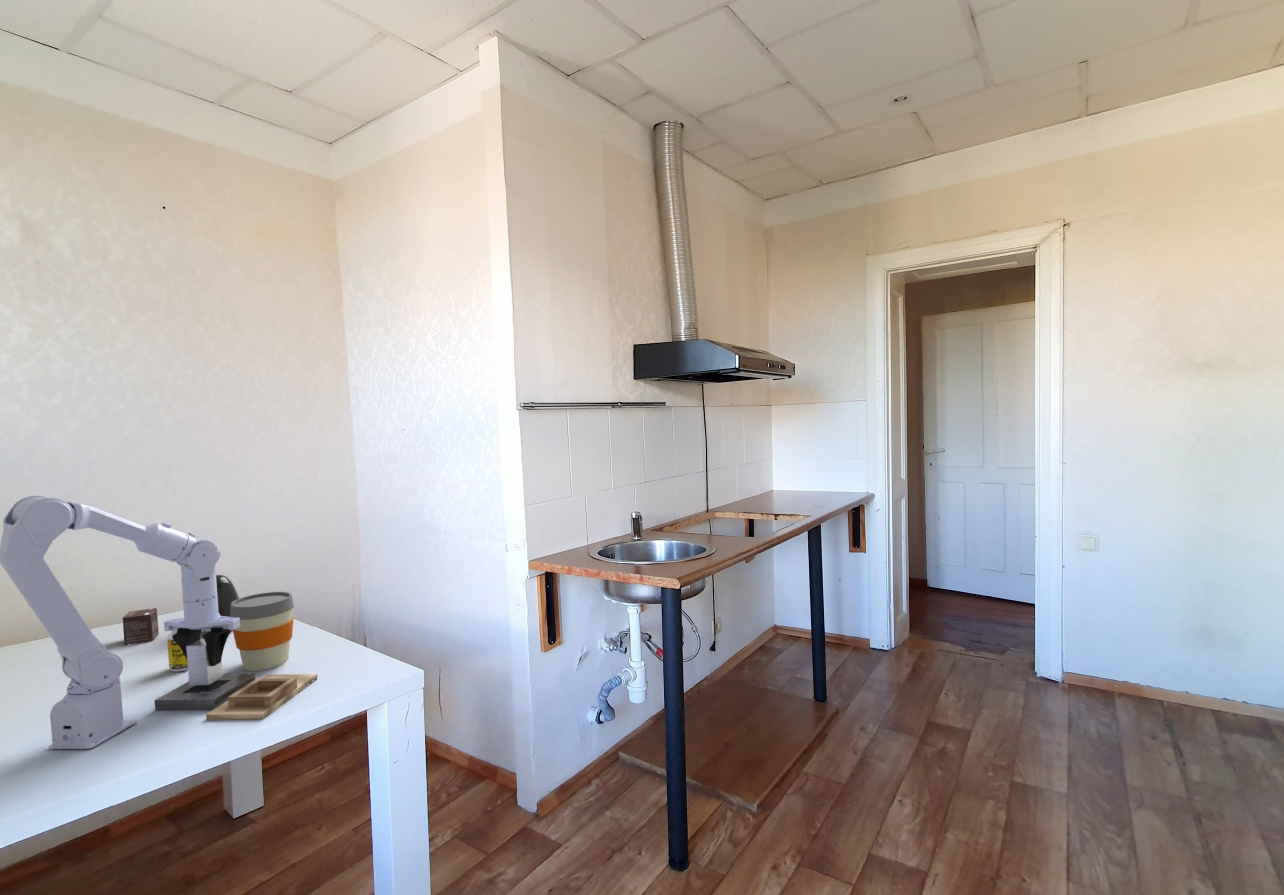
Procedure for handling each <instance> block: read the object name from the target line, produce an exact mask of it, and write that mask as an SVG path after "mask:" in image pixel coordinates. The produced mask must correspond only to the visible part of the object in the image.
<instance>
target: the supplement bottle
mask: <svg viewBox="0 0 1284 895" xmlns="http://www.w3.org/2000/svg"><path fill="white" fill-rule="evenodd" d="M176 633H177V630H171V631H170V633H169V634H168V635H167V637H166V638H167V639H166V640H167V641H166V642H167V652H168V654H167V655H168V657H167V658H168V667H169V670H170V671H171V672H175V673H177V672H179V673H180V672H184V671H188V663H187V660H186V658H185V655H184V653H183V651H182V650H181V648H180V647H179V645H178V644H177V643H176V642H175V641H174V640H173V638H172V636H173V635H174V634H176Z"/></svg>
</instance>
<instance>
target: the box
mask: <svg viewBox="0 0 1284 895" xmlns="http://www.w3.org/2000/svg"><path fill="white" fill-rule="evenodd" d="M158 619H159V618H158V608H157V607H153V608H148V609H147V608H146V609H140V610H132V611H128V612H127V613H126V614H125V615H124V616H123V617H122V628H123V642H124V643H123V644H124V646H129V645H128V644H132V645H135V644H134V643H137V644H142V642H144V643H151V642H153V641H154V640H155V639H156V637H158V635H159V633H160V632H159V620H158Z"/></svg>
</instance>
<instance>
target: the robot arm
mask: <svg viewBox="0 0 1284 895" xmlns="http://www.w3.org/2000/svg"><path fill="white" fill-rule="evenodd" d="M2 525H3V529H2V534H1V540H0V565H1V567H2V568H3V569H4V571H5V572H6V574H7V576H8V577H9V579H10V580H11V581H12V583H13V584H14V585H15V587H16V589H18V591H19V593H20V595H22V597H23V599H24V600H25V601H26V603H27V604H28V606H29V607H30V609H31V610H32V612H33V613H34V615H35V616H36V618H37V619H38V620H39V622H40V623H41V625H42V626H43V628H44V629H45V630H46V632H47V633H48V635H49V636H50V637H51V640H53V642H54V644H55V645H56V649H57V653H59V655H60V657H61V659H62V663H61V668H62V672H63V674H64V675H65V677H68V678H69V679H70V681H69V682H68V686H67V687H66V693H65V696H64V697H63V698H62V699H60V700H59V701H57V702H56V703H55V704H54V705H53V706H52V708H51V710H50V713H49V718H50V732H51V742H52V743H51V744H50V745H48V750H89V749H92V748H95V747H96V746H98V745H100V744H102V743H103V742H106V741H107V740H109V739H111V738H112V737H114V736H115V735H117V734H119V733H121V732H124V731H125V730H126V729H127V728H129V727H131V726H134V725H135V724H136V723H137V719H124V712H123V711H124V709H123V700H122V698H123V697H122V688H121V687H122V686H121V675H122V672H123V670H124V669H123V668H124V662H123V660H122V658H121V657H120V656H119V655H118V654H116V653H114V652H111V651H109V650H108V649H107V648H106V647H105V645H104V644H103V643H102V641H101V640H100V639H99V638H98V637H97V636H96V635H95V634H94V633H93V631H92V630H91V629H90V627H89V626H88V624H87V623H86V621H85V619H84V618H83V616H82V615H81V614H80V612H79V611H78V608H76V606H75V604H74V603H73V601H72V599H70V597H69V595H68V594H67V592H66V591H65V589H64V587H63V585H62V584H61V582H60V581H59V580H58V579H57V577H56V576H55V574H54V573H53V571H52V569H51V568H50V566H49V565H48V563H47V562H46V560H45V559H44V556H45V555H46V553H47V552H48V550H49V548H50V546H51V545H52V543H53V541H54V540H56V539H57V538H59V537H60V536H61V535H62V534H63V533H65V532H66V531H67V529H68V530H72V531H77V530H83V529H88V528H89V529H92V530H95V531H99V532H101V533H105V534H109V535H112V536H116V537H119V538H122V539H125V540H129V541H132V542H134V545H135V547H136V548H137V551H138V552H141V553H143V554H147V555H150V556H153V557H156V558H159V559H163V560H165V561H169V562H172V563H176V564H178V566H180V574H181V591H182V606H183V607H182V608H183V617H182V618H181V617H179V618H170V619H168V620H166V621H163V628H164V630H163V631H164V632H171V630H177V633H176V634H174V635H173V636H172V638H173V640H174V641H175V642H176V643H177V644H178V645H179V647H180V648H181V650H182V651H183V653H184V655H185V658H186V660H187V649H186V646H187V645H190V644H192V643H194V642H196V641H198V640H200V639H201V637H202V639H204V640H205V642H206V645H207V648H208V654H209V662H210V665H211V666H215V665H217V664H219V663H221V660H222V658H223V652H224V649H225V645H226V644H227V641H228V639H229V636H230V634H231V632H233V630H235V629H237V628H239V627H240V618H233V617H226V616H220V614H219V612H218V598H217V583H216V575H217V574H216V564H217V563H218V562H219V560H220V557H221V551H219V549H218V547H217V546H216V544H215V543H214V542H212V541H210V540H206V539H202V538H201V539H199V538H197V535H196V534H195V533H192V532H189V533H187V532H182V531H179V530H177V529H174V528H172V526H173V525H172V524H170V523H167V522H162V523H161V524H160V523H157V522H155V523H150V524H148V525H144V526H143V525H141V524H140V523H136V522H134V521H131V520H128V519H127V518H126V519H125V518H124V517H121V516H118V515H115V514H113V513H110V512H107V511H105V510H102V509H99V508H97V507H95V506H91V505H86V504H81V503H75V502H71V501H66V500H63V499H61V498H56V497H47V496H42V495H31V496H30V495H29V496H26V497H23V498H21V499H19V500H18V501H16V502H15V503H14V504H13V506H11V508H10V509H9V510H8V512H7V513H6V515H5V516H4V517H3V519H2ZM202 629H211V631H209V632H207V633H206V632H205V633H203V634H202V632H203V630H202ZM201 635H202V636H201ZM187 663H188V662H187Z"/></svg>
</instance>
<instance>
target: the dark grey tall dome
mask: <svg viewBox="0 0 1284 895" xmlns="http://www.w3.org/2000/svg"><path fill="white" fill-rule="evenodd" d="M216 583H217V598H218V612H219V614H220V616H226V617H230V612H231V603H232V602H233V601H235V600H237V599H240V597H239V594H238V592H237V590H236V589H237V588H236V587H235V585H234V583H233V582H232V581H231V580H230V578H229V577H227V576H226V575H223V574H216ZM203 631H204V632H205V633H207V632H209V631H211V629H202V632H203Z"/></svg>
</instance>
